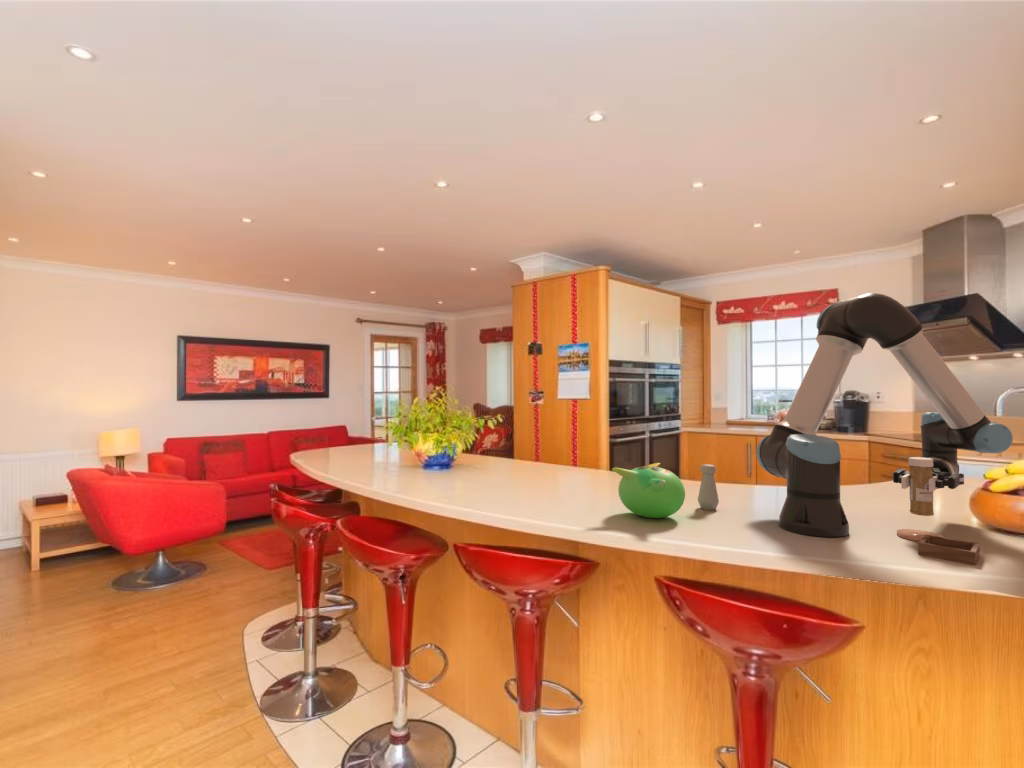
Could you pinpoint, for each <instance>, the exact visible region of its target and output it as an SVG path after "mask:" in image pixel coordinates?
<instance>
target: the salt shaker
mask: <svg viewBox="0 0 1024 768" xmlns="http://www.w3.org/2000/svg"><path fill="white" fill-rule="evenodd" d="M699 469H700V472H701V473H702V476H701V481H700V485H699V490H698V491H699V492H698V497H697V502H698V504H699V506H700V509H701V510H705V511H715V510H717V507H718V505H719V502H720V500H719V499H720V498H719V494H718V490H717V484H716V478H715V473H716V472H717V468H716V466H715V465H713V464H709V463H706V464H701V465H700V468H699Z"/></svg>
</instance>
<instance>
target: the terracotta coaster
mask: <svg viewBox="0 0 1024 768" xmlns="http://www.w3.org/2000/svg"><path fill="white" fill-rule="evenodd" d="M896 535H897V536H898V537H899V536H900V538H902V539H904V538H905V540H908V539H909V541H912V540H913V542H917V543H918V542H919V541H920V540H921V539H922V538H923V537H924V536H925V535H931V536H937V537H943V538H946V536H944V535H942V534H938V533H936V532H932V531H927V530H922V529H911V528H902V529H901V528H900V529H897V530H896Z"/></svg>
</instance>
